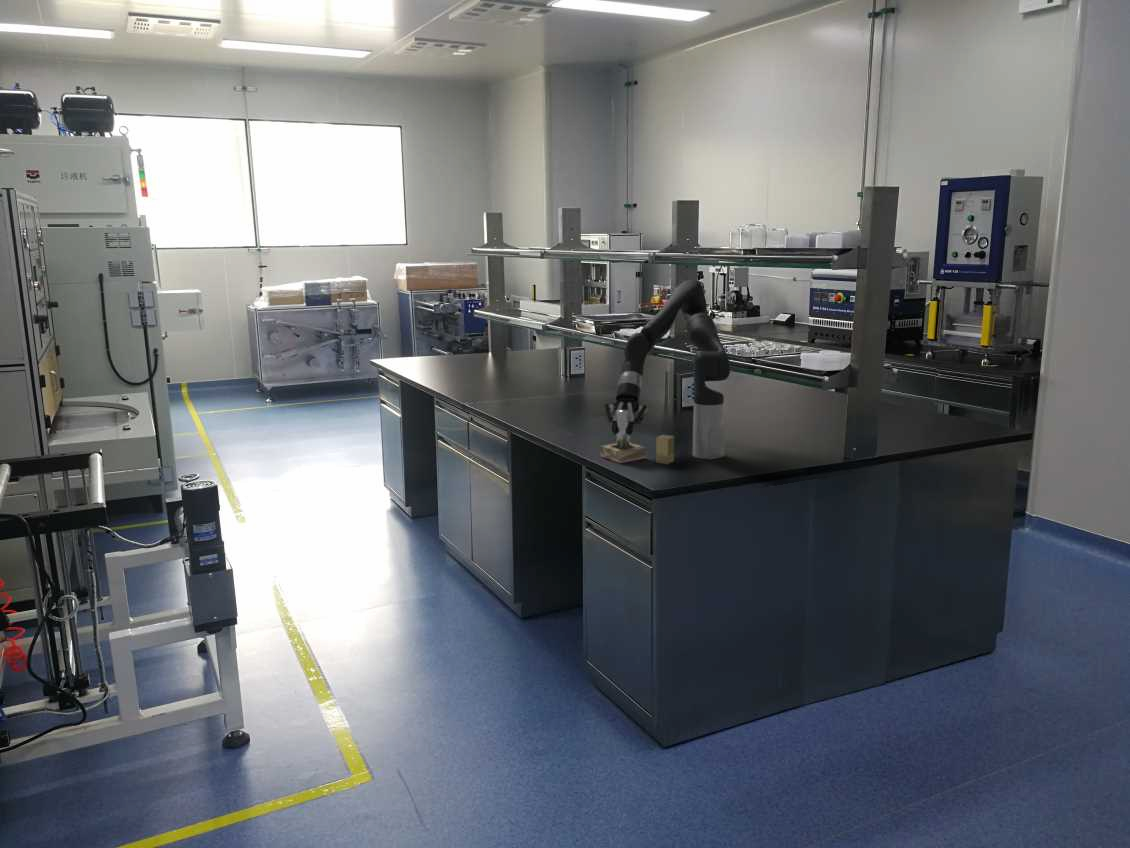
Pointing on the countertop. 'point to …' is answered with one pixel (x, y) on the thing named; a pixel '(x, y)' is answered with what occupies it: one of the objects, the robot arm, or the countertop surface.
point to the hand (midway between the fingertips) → (621, 433)
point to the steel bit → (623, 428)
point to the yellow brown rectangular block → (665, 449)
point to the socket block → (623, 453)
